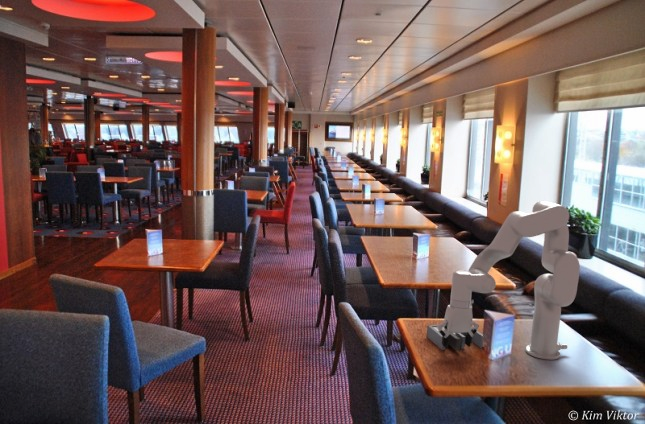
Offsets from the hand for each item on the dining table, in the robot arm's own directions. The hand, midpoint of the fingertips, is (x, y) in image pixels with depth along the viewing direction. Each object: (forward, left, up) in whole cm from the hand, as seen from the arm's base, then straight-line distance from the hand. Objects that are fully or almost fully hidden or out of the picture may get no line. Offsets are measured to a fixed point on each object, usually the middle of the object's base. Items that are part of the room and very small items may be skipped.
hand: (456, 345), depth 204 cm
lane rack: (-4, -9, -2) cm, 10 cm away
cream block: (0, -7, -2) cm, 7 cm away
